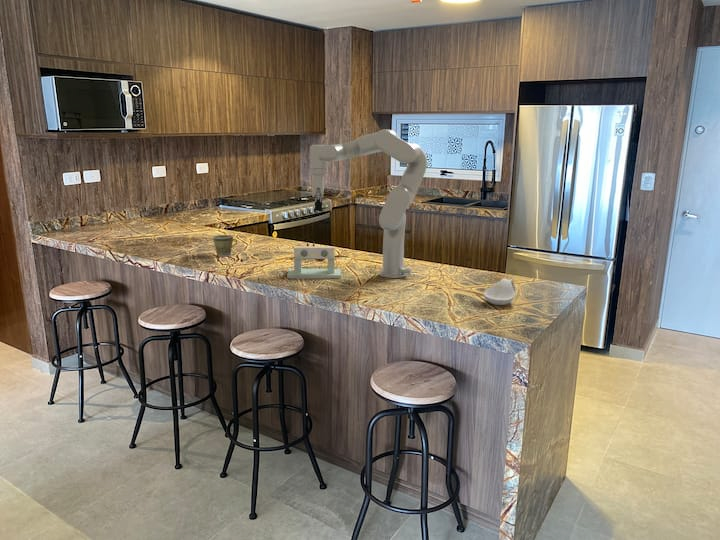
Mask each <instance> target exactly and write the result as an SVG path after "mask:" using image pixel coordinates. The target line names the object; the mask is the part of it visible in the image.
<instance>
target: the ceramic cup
mask: <svg viewBox="0 0 720 540" xmlns="http://www.w3.org/2000/svg"><path fill="white" fill-rule="evenodd" d="M212 239H213V244H214V246H215V247H214V248H215V251H216V256H217V257H218V258H225V257H226V256H228V257H231V254H232V249H233V247H234V246H236V245H237V244H238V240H237V238H234V236H233V235H229V234H217V235H214V236H213V237H212ZM233 241H235V243H234V244H233Z"/></svg>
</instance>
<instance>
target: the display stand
mask: <svg viewBox="0 0 720 540" xmlns="http://www.w3.org/2000/svg"><path fill="white" fill-rule="evenodd" d="M293 258H294V260H293V264H294V265H293V267H294V268H288V272H287V274H286V278H287V279H332V278H341V279H342V269H341V268H335V258H334V257H328V259H327V268H303V267H302V265H303V262H302V260H303V259H301V257H294V256H293Z"/></svg>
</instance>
